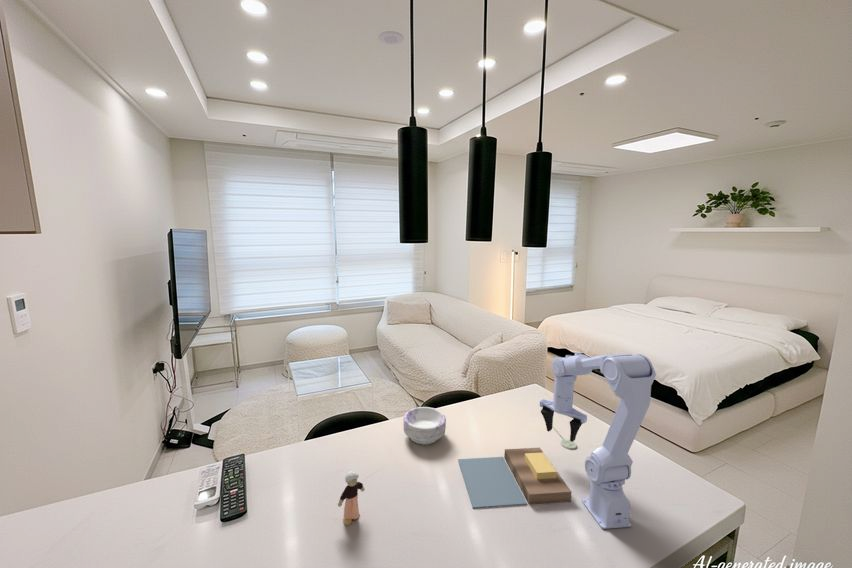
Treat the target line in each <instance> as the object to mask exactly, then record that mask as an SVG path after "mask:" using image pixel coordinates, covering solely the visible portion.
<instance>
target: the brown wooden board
mask: <svg viewBox="0 0 852 568" xmlns="http://www.w3.org/2000/svg"><path fill="white" fill-rule="evenodd" d="M542 452H543V453H544V451H543V450H542V449H541V447H524V448H505V449H504V453H503V454H504V455H503V458H504V460H505V462H506V464H507V466H508V468H509V469H510V471H511V473H512V475H513V477H514V479H515V481H516V483H517V485H518V487H519V489H520V491H521V493H522V495H523V496H524V498H525V500H526V502H527V505H542V504H555V503H569V502H571V500H572V490H571V489H570V488H569V485H568V484H566V482H565V481H564V479H563V478H562V476H561V475H560V473H559V472H558V471H557V470H556V468H555V470H556V471H557V478H550V479H536V477H535V476H534V474H533V472H532V471H531V469H530V468H529V466H528V464H527V463H526V461H525V453H542ZM545 456H546V457H547V455H546V454H545ZM550 463H551V464H552V462H551V461H550Z"/></svg>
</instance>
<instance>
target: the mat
mask: <svg viewBox="0 0 852 568" xmlns="http://www.w3.org/2000/svg"><path fill="white" fill-rule="evenodd" d="M457 461H458V464H459V467H460V472H461V475H462V478H463V481H464V484H465V488H466V490H467V494H468V497H469V500H470V504H471V507H472V509H473V510H474V509H485V508H486V509H488V508H498V507H499V506H502V507H513V506H514V507H515V505H516V506H526V505H528V502H527V500H526V498H525V496H524V494H523V493H522V491H521V489H520V487H519V485H518V483H517V481H516V479H515V477H514V475H513V473H512V472H511V470H510V468H509V466H508V464H507V462H506V460H505V458H504V456H493V457H475V458H458V459H457ZM487 507H488V508H487Z"/></svg>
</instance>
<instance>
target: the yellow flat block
mask: <svg viewBox="0 0 852 568" xmlns="http://www.w3.org/2000/svg"><path fill="white" fill-rule="evenodd" d="M545 455H546V454H545V453H544V451H543V452H542V453H525V461H526V463H527V464H528V466H529V468H530V469H531V471H532V472H533V474H534V476H535V477H536V479H550V478H557V472H558V471H557V470H555V469H556V468H555V467H554V465H553V464H552V462H551V461H550V460H549V458H548V457H547V455H546V456H545ZM550 462H551V463H550Z"/></svg>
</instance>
